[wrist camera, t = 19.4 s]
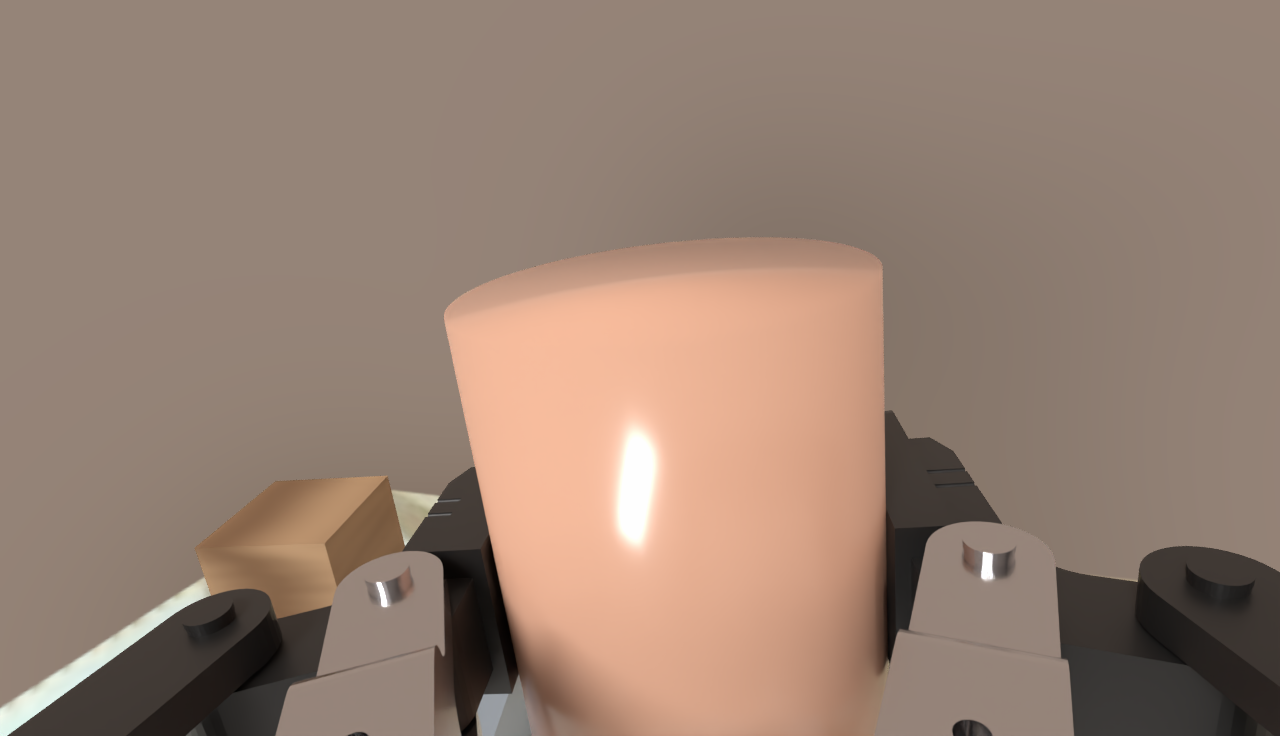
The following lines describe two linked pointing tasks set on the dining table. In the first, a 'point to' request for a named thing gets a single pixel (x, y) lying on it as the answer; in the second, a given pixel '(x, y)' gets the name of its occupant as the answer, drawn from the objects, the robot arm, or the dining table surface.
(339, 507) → the walnut block
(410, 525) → the dining table surface
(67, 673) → the dining table surface
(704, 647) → the terracotta cylinder
